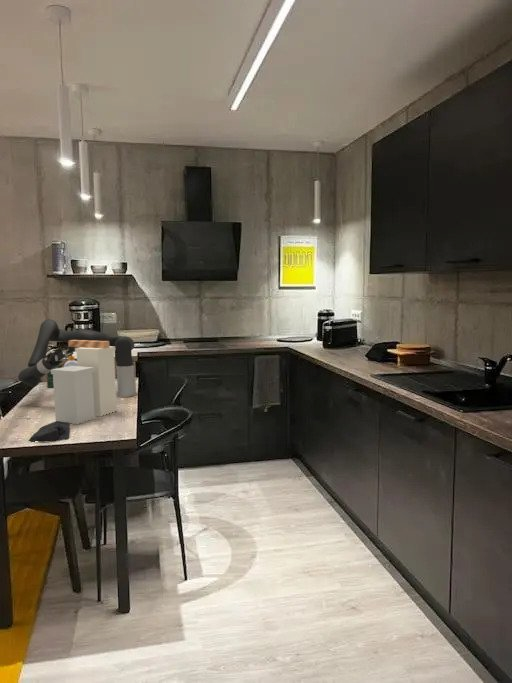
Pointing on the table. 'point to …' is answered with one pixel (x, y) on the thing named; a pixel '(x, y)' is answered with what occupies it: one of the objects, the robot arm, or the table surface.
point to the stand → (100, 376)
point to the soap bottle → (71, 362)
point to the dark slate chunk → (52, 432)
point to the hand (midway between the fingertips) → (67, 348)
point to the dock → (73, 394)
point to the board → (88, 344)
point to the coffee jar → (50, 376)
